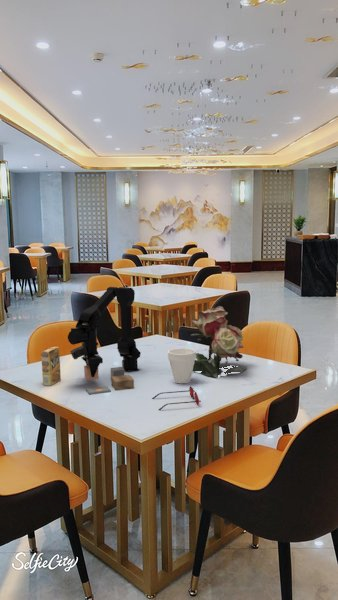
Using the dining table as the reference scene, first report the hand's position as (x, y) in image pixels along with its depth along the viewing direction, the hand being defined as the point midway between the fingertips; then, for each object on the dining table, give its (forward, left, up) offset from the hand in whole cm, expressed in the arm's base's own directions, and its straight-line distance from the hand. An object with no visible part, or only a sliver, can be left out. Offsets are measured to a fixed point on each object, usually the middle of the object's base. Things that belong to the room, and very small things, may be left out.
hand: (91, 375), depth 224 cm
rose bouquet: (-61, +3, -4) cm, 61 cm away
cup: (-37, +14, -4) cm, 40 cm away
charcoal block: (-12, -1, -4) cm, 13 cm away
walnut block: (-11, +10, -4) cm, 15 cm away
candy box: (+16, -8, -4) cm, 18 cm away
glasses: (-24, +38, -4) cm, 45 cm away
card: (0, +12, -4) cm, 13 cm away
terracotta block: (0, 0, -1) cm, 1 cm away
